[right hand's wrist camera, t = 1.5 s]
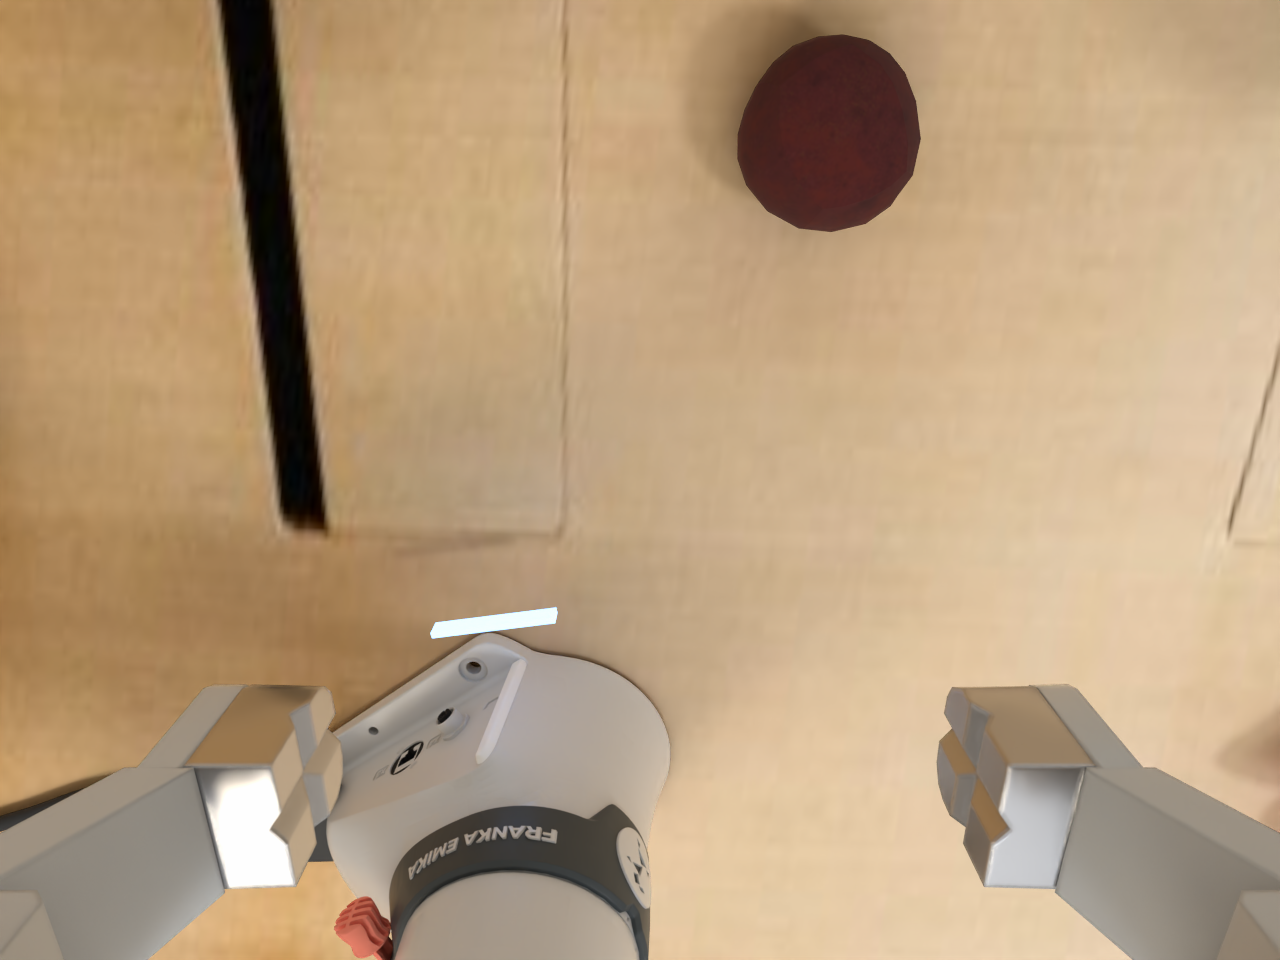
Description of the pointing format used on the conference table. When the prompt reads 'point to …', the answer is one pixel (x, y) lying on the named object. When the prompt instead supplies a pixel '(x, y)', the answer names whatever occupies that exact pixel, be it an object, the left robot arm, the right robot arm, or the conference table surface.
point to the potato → (829, 134)
